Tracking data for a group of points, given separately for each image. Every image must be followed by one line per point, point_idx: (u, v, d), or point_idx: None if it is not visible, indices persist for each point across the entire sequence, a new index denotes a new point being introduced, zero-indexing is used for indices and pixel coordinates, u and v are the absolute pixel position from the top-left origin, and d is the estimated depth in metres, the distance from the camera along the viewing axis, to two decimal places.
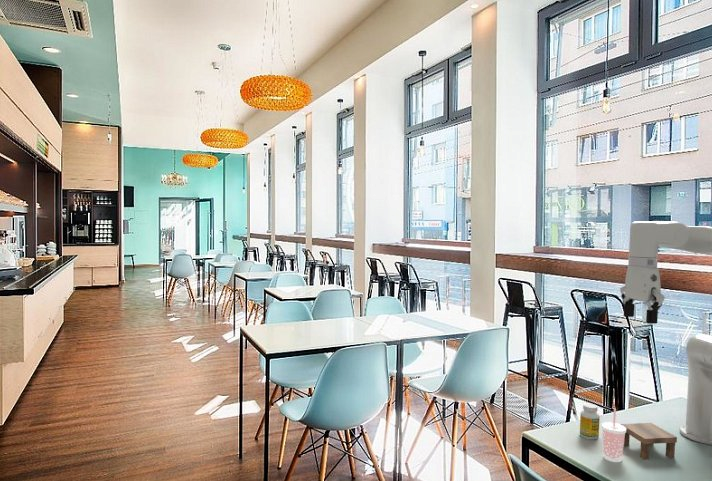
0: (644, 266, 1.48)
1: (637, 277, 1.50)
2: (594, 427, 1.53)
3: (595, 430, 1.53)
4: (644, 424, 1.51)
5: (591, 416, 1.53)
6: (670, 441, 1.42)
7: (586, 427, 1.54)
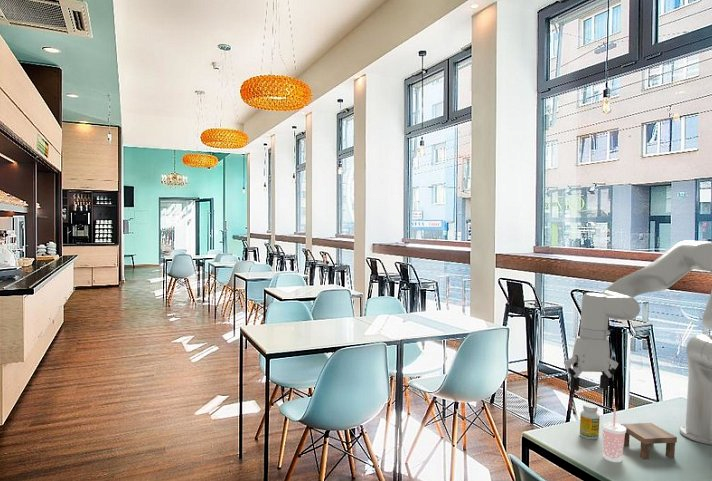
0: (606, 338, 1.53)
1: (601, 349, 1.52)
2: (594, 427, 1.53)
3: (595, 430, 1.53)
4: (644, 424, 1.51)
5: (591, 416, 1.53)
6: (670, 441, 1.42)
7: (586, 427, 1.54)
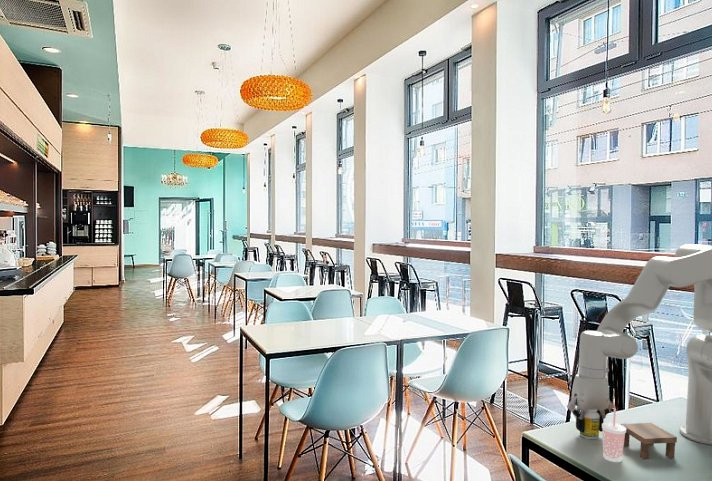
0: None
1: (600, 388, 1.53)
2: (594, 427, 1.53)
3: (595, 430, 1.53)
4: (644, 424, 1.51)
5: (591, 416, 1.53)
6: (670, 441, 1.42)
7: (586, 427, 1.54)
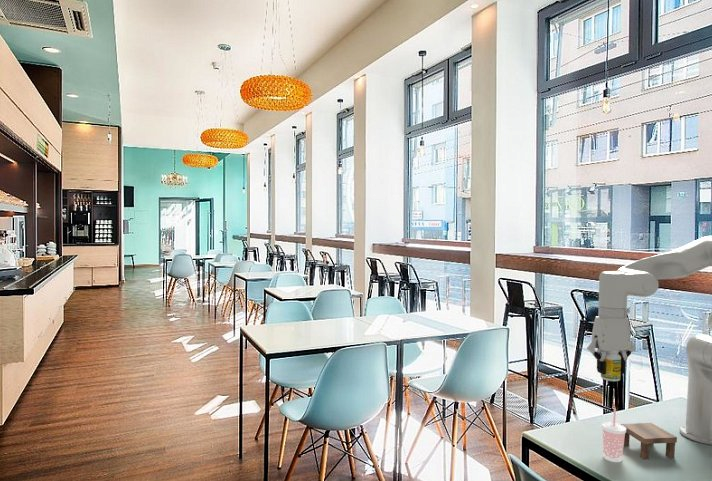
0: None
1: (621, 328, 1.49)
2: (615, 368, 1.49)
3: (617, 371, 1.50)
4: (644, 424, 1.51)
5: (612, 357, 1.50)
6: (670, 441, 1.42)
7: (607, 368, 1.50)
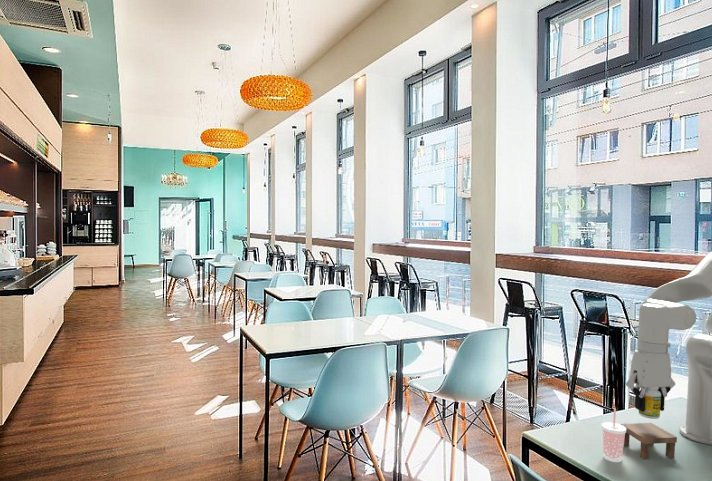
0: None
1: (662, 364, 1.43)
2: (655, 405, 1.43)
3: (657, 409, 1.43)
4: (644, 424, 1.51)
5: (652, 394, 1.43)
6: (670, 441, 1.42)
7: (647, 405, 1.44)
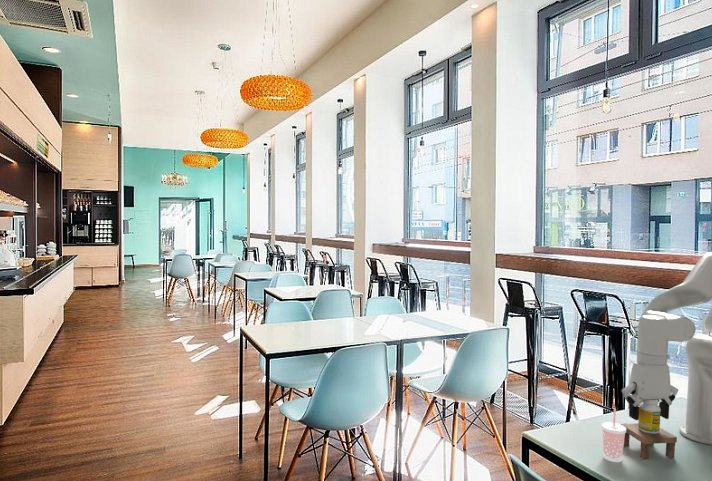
0: None
1: (661, 375, 1.43)
2: (655, 420, 1.44)
3: (656, 424, 1.44)
4: None
5: (652, 409, 1.44)
6: (670, 441, 1.42)
7: (646, 420, 1.44)
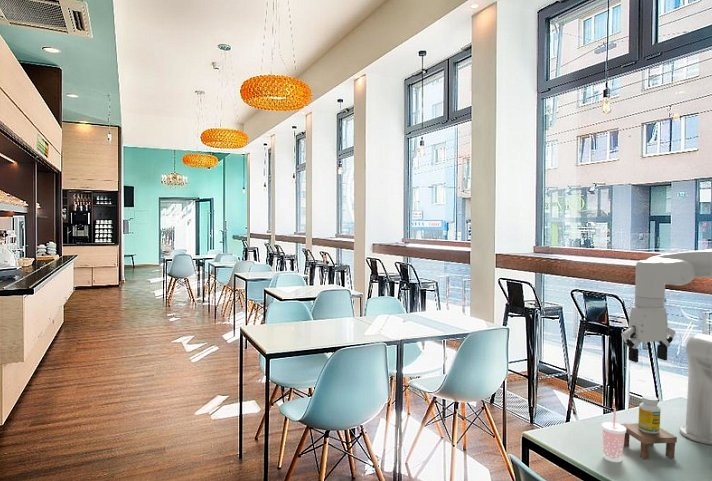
0: None
1: (659, 318, 1.46)
2: (655, 420, 1.44)
3: (656, 424, 1.44)
4: None
5: (652, 409, 1.44)
6: (670, 441, 1.42)
7: (646, 420, 1.44)
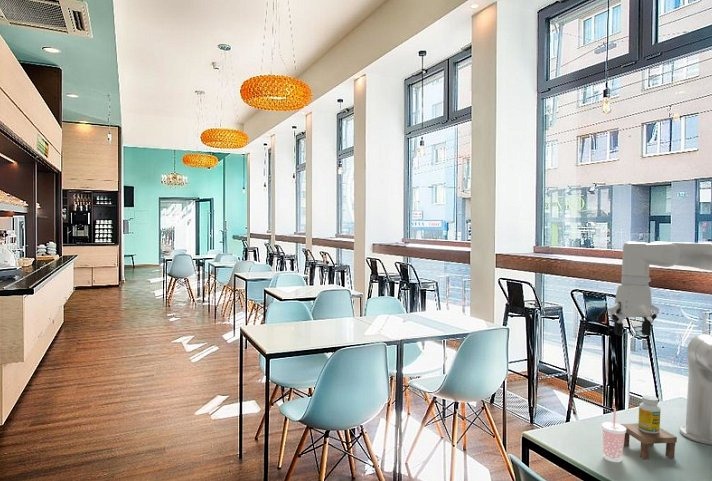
0: None
1: (643, 295, 1.58)
2: (655, 420, 1.44)
3: (656, 424, 1.44)
4: None
5: (652, 409, 1.44)
6: (670, 441, 1.42)
7: (646, 420, 1.44)
